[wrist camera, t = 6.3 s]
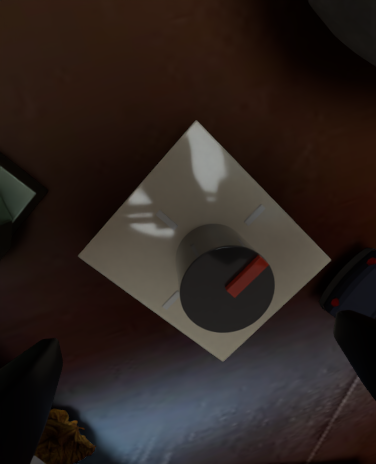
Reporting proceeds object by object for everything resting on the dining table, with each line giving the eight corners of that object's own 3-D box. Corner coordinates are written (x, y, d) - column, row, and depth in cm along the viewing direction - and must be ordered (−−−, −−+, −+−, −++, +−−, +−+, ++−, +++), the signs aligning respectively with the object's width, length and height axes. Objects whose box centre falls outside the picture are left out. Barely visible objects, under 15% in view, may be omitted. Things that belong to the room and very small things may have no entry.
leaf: (105, 450, 23) (102, 471, 21) (26, 478, 22) (17, 502, 20) (83, 393, 21) (78, 410, 20) (-3, 421, 21) (-15, 441, 19)
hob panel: (91, 240, 17) (76, 257, 14) (190, 126, 16) (196, 118, 13) (214, 334, 20) (223, 364, 17) (306, 245, 19) (333, 261, 16)
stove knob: (212, 304, 16) (228, 353, 12) (159, 262, 15) (158, 300, 11) (261, 255, 16) (297, 290, 11) (211, 207, 14) (231, 227, 10)
